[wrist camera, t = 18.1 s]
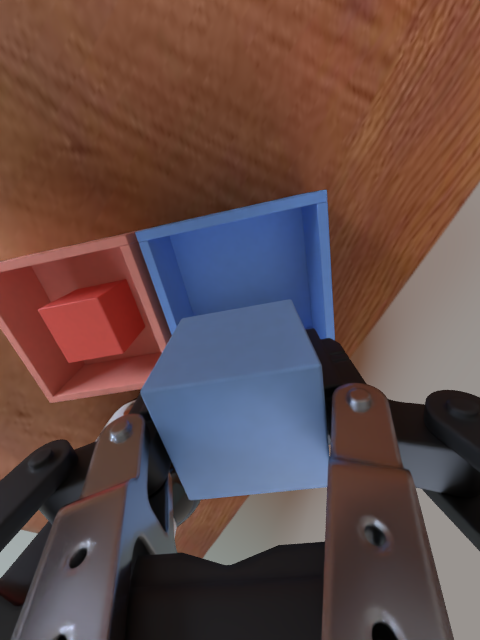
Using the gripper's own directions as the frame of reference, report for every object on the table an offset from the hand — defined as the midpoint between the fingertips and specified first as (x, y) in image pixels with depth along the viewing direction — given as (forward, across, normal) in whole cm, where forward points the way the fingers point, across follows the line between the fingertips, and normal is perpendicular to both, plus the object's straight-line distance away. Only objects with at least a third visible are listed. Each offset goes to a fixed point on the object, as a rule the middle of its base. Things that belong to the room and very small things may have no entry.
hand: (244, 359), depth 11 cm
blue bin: (+12, 0, 0) cm, 12 cm away
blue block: (0, 0, 0) cm, 0 cm away
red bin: (+12, +12, 0) cm, 17 cm away
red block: (+11, +12, 0) cm, 16 cm away
